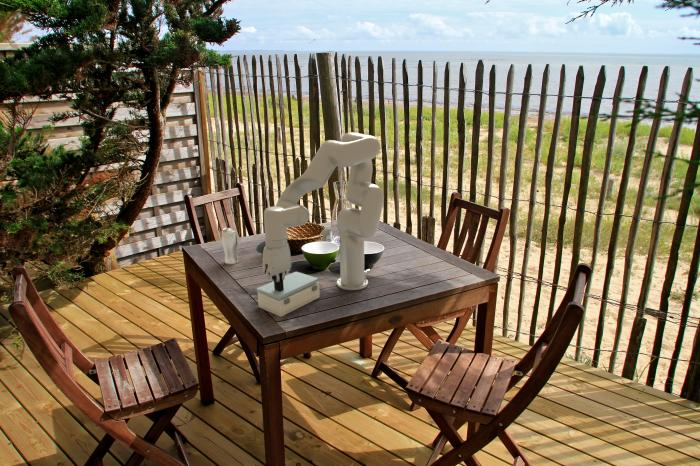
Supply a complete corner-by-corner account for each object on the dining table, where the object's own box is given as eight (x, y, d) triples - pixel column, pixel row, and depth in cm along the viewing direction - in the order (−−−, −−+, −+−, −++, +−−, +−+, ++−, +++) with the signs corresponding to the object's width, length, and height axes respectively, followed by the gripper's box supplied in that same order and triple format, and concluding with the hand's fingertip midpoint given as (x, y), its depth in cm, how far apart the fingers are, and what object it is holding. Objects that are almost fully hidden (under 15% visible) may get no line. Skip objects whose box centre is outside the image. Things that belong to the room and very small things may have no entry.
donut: (340, 246, 252) (340, 226, 249) (340, 248, 249) (340, 228, 245) (319, 246, 252) (319, 226, 248) (319, 249, 249) (318, 229, 245)
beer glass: (237, 264, 231) (235, 232, 226) (222, 264, 231) (219, 232, 226) (241, 259, 238) (238, 227, 233) (225, 259, 238) (223, 227, 233)
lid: (296, 274, 205) (296, 271, 205) (318, 281, 198) (318, 278, 198) (256, 291, 191) (256, 288, 191) (279, 299, 184) (278, 296, 183)
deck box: (297, 288, 207) (296, 274, 205) (321, 297, 199) (320, 283, 197) (258, 306, 193) (257, 291, 191) (282, 317, 185) (281, 302, 183)
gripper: (284, 234, 190) (287, 280, 196) (252, 245, 179) (256, 294, 185) (299, 238, 186) (301, 286, 192) (267, 250, 175) (270, 300, 181)
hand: (279, 289), depth 189 cm, fingers closed
